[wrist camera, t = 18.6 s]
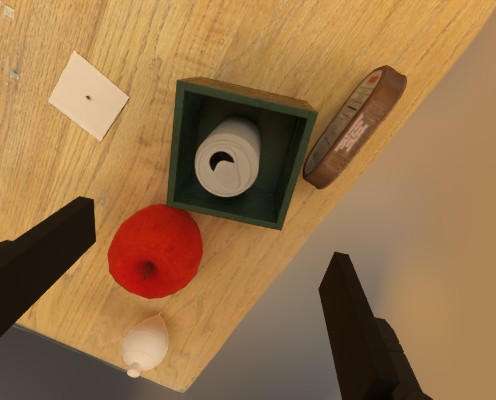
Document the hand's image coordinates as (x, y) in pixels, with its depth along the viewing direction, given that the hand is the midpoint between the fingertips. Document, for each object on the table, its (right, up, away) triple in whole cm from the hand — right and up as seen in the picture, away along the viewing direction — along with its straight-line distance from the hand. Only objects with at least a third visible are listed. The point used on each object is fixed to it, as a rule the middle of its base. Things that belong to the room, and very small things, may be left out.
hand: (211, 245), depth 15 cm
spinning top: (-15, -19, +38) cm, 45 cm away
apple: (-10, -1, +29) cm, 30 cm away
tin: (+14, +12, +21) cm, 28 cm away
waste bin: (+1, +10, +22) cm, 25 cm away
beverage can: (+1, +11, +22) cm, 24 cm away
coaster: (-19, +16, +21) cm, 33 cm away
